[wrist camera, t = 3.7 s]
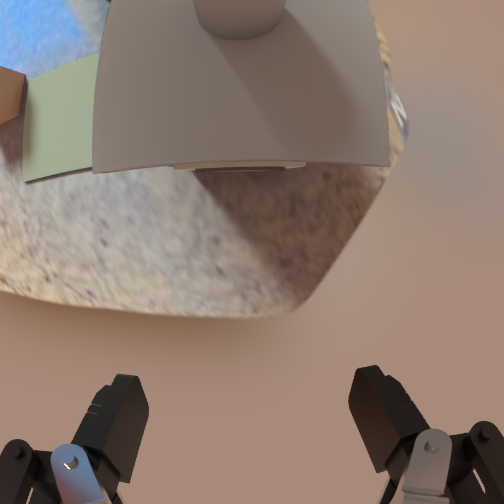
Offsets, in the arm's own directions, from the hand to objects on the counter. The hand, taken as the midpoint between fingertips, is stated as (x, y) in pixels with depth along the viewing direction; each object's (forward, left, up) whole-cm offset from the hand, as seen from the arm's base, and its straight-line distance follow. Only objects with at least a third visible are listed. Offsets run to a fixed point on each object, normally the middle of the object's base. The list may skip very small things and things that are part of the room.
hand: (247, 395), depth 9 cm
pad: (-14, -13, -12) cm, 23 cm away
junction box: (-12, 0, -12) cm, 17 cm away
